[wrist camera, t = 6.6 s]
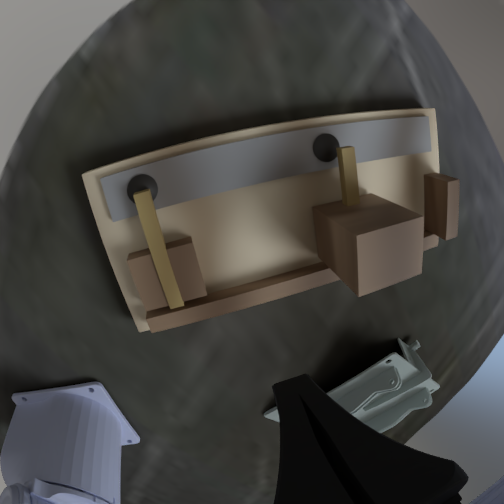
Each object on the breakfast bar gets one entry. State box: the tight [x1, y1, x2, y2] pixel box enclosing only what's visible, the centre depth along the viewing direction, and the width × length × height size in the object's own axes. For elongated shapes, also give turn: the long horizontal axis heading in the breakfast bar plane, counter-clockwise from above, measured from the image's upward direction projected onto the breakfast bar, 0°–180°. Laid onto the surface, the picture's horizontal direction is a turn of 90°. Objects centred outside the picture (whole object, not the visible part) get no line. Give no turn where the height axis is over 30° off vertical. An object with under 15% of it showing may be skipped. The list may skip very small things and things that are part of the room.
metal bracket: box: [264, 338, 440, 433], centre depth 28 cm, size 14×6×15 cm
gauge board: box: [82, 108, 459, 333], centre depth 18 cm, size 22×10×4 cm, turn 101°
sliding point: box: [312, 146, 424, 297], centre depth 16 cm, size 4×6×5 cm, turn 11°
